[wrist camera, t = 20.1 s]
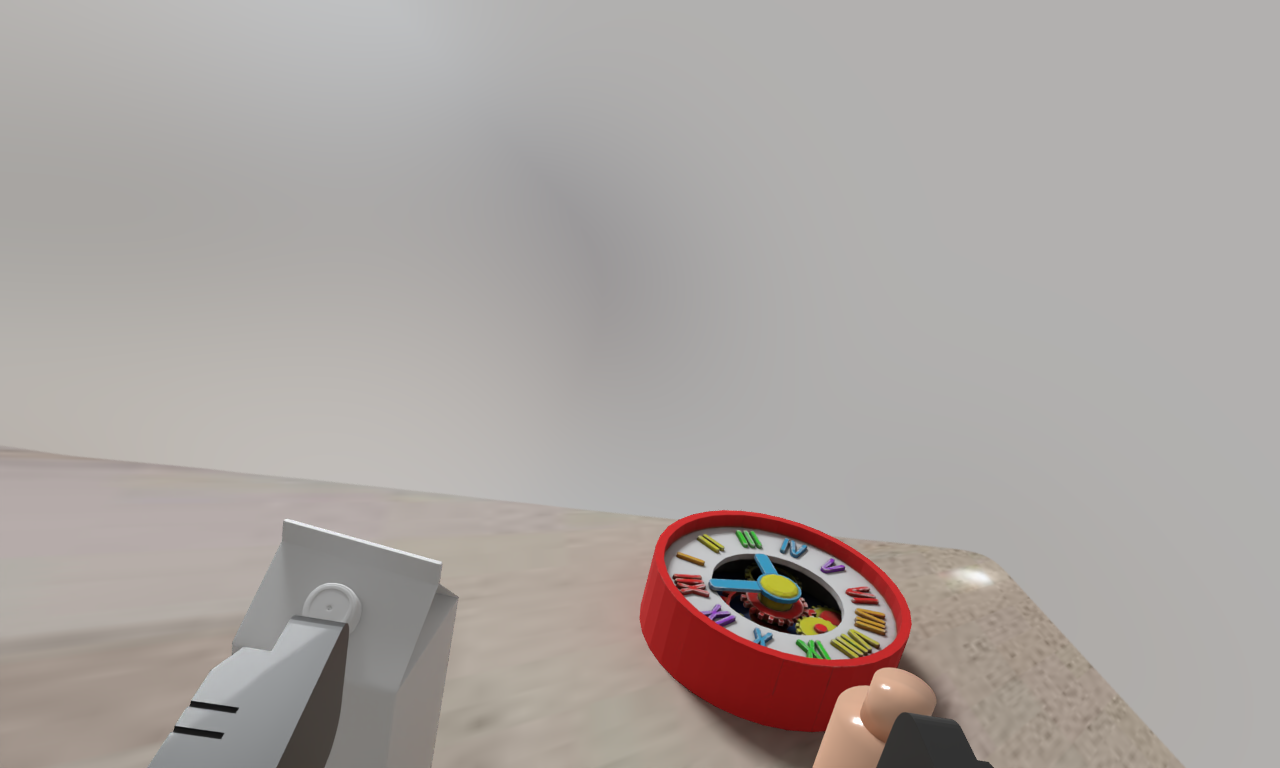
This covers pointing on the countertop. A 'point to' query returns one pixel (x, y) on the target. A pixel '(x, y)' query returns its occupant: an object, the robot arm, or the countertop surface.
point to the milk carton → (365, 638)
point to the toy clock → (769, 616)
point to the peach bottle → (871, 718)
